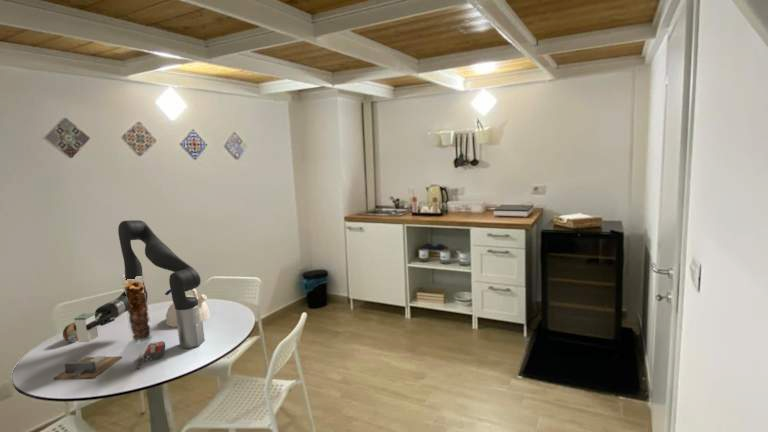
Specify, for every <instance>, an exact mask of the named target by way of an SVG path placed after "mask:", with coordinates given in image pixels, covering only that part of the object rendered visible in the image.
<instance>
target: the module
mask: <svg viewBox="0 0 768 432" xmlns="http://www.w3.org/2000/svg"><path fill="white" fill-rule="evenodd" d="M73 319H74V322H75V325H76V331H77V337H78V341H77V343H91V342H92V341H93V340H95V339H97V338H98V337H99V332H98V326H97V327H93V328H92V329H90V330H86V325H87V324H89V323H91V322H92V321H94V320H95V312H83V313H82V314H79V315H77V316H76V317H74V318H73Z"/></svg>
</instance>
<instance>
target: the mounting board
mask: <svg viewBox="0 0 768 432" xmlns="http://www.w3.org/2000/svg"><path fill="white" fill-rule="evenodd" d="M95 357H96V356H87V357H86V356H84V357H83V358H81V359H80V360H78V361H77V362H84V361H91V360H92V359H94V358H95ZM105 357H106V358H105V359H103V360H102V361H101V362H99V363H98V364H96V365H95V366H96V371H95V372H94V373H84V374H82V375H81V376H71V374H72V373H68V374H66V371H65V370H63V371H62V372H59V373H58V374H57V375H56V376H54V377H53V380H76V379H77V380H79V379H80V380H81V379H82V380H83V379H84V380H85V379H96V378H98V376H100V375H101V374H102V373H104V372H106V370H108V369H109V368H110V367H111V366H114V364H116V363H117V362H118V361H119V360H121V359H122V358H123V356H119V355H118V356H117V355H116V356H115V355H114V356H105Z"/></svg>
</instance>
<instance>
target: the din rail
mask: <svg viewBox="0 0 768 432" xmlns="http://www.w3.org/2000/svg"><path fill="white" fill-rule="evenodd" d="M94 357H95V358H94V359H92V360H91V361H95V365H96V364H98V363H99V362H101V361H102V360H103V359H105V358H106V357H107V356H105V355H102V356H100V355H97V356H94ZM82 374H84V371H75V372H73V373H72V374H71V376H81V375H82Z"/></svg>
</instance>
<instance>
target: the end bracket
mask: <svg viewBox="0 0 768 432" xmlns="http://www.w3.org/2000/svg"><path fill="white" fill-rule="evenodd" d="M64 371H66V374H68V373H73V372H75V371H84V373H94V372H95V371H96V366H95V361H84V362H78V361H66V362H65V363H64Z"/></svg>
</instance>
